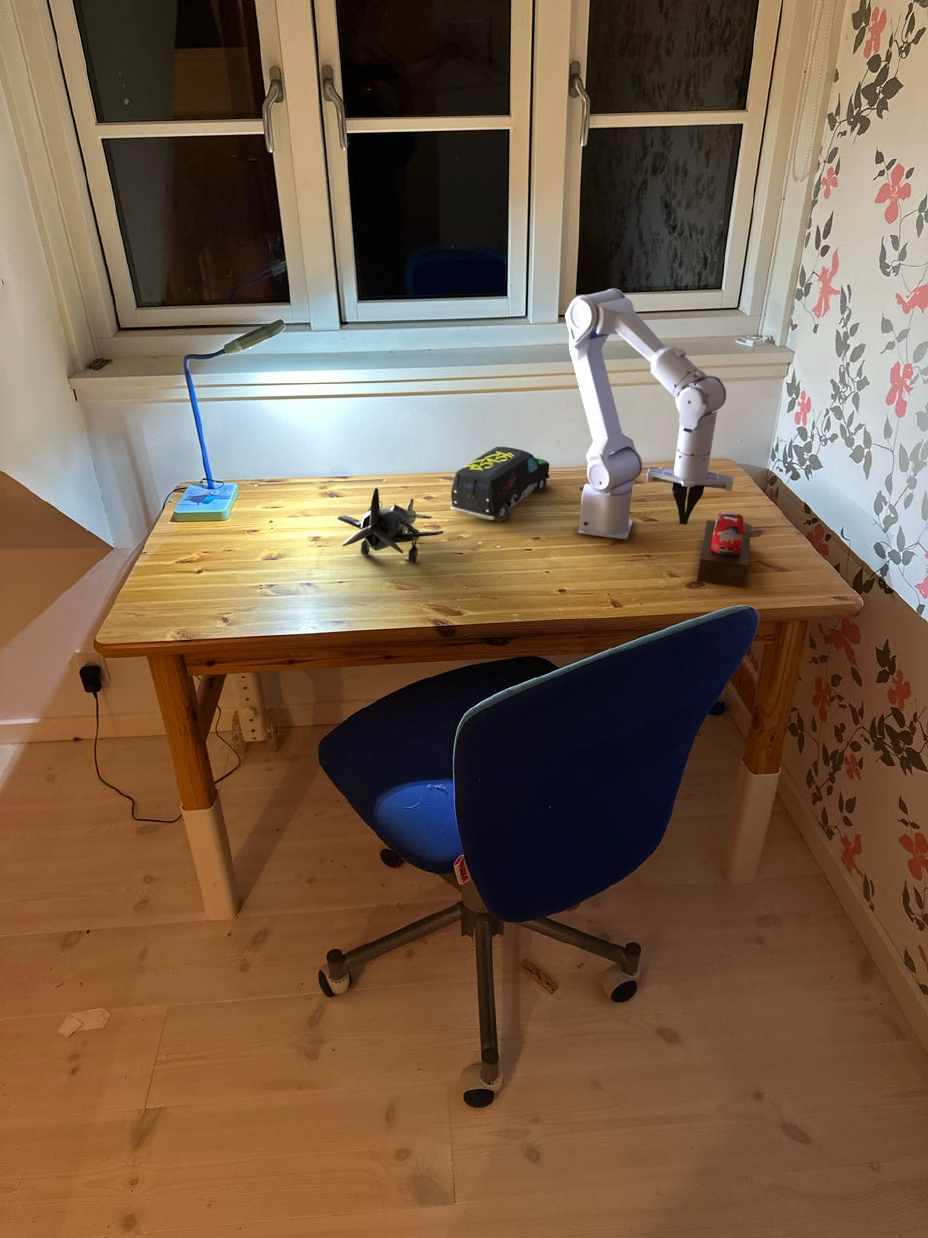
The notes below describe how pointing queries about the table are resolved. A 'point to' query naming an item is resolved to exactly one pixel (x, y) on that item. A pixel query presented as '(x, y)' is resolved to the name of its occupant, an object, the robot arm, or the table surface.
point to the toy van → (497, 482)
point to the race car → (728, 533)
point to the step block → (723, 561)
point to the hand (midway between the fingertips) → (683, 522)
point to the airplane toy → (387, 528)
